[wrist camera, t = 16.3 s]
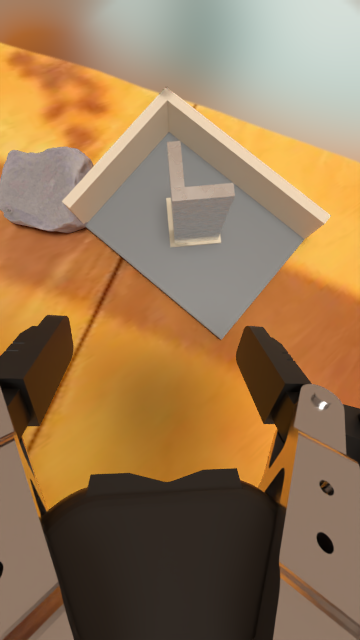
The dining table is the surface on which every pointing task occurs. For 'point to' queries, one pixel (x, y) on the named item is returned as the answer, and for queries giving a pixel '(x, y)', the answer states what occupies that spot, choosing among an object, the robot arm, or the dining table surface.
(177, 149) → the bracket
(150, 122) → the arena
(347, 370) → the dining table surface
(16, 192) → the stone block
